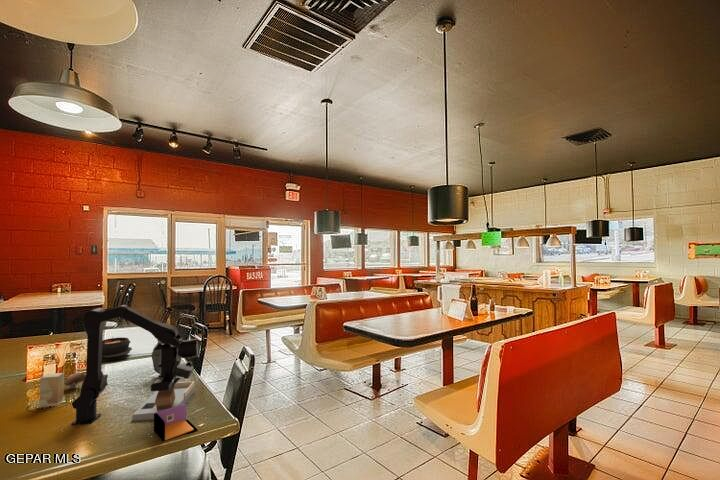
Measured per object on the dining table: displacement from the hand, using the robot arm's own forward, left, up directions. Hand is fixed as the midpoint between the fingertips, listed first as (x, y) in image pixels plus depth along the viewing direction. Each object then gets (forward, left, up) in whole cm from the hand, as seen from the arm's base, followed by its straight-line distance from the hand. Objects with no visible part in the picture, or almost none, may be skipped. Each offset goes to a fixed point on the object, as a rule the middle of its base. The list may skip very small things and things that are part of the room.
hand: (169, 399), depth 133 cm
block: (-3, 0, 0) cm, 3 cm away
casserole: (+81, +60, -4) cm, 101 cm away
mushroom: (+30, +50, -4) cm, 59 cm away
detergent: (+42, +16, -4) cm, 45 cm away
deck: (+4, +3, -4) cm, 6 cm away
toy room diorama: (-18, -8, -4) cm, 20 cm away
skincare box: (+12, +48, -4) cm, 50 cm away
